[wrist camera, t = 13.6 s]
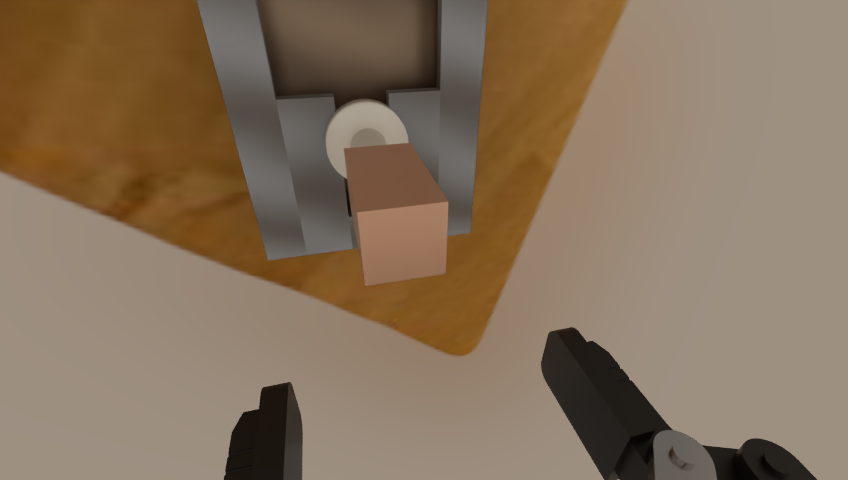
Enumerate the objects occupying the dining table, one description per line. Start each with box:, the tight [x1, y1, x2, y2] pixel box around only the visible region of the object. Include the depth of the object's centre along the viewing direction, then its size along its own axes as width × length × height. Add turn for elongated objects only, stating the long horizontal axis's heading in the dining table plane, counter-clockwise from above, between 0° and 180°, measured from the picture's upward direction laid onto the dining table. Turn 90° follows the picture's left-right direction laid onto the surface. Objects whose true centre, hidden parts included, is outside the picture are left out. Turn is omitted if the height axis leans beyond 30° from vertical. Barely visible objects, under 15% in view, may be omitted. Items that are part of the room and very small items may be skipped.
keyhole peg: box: [325, 99, 448, 286], centre depth 18 cm, size 5×5×12 cm
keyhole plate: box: [197, 0, 488, 260], centre depth 23 cm, size 20×14×5 cm
